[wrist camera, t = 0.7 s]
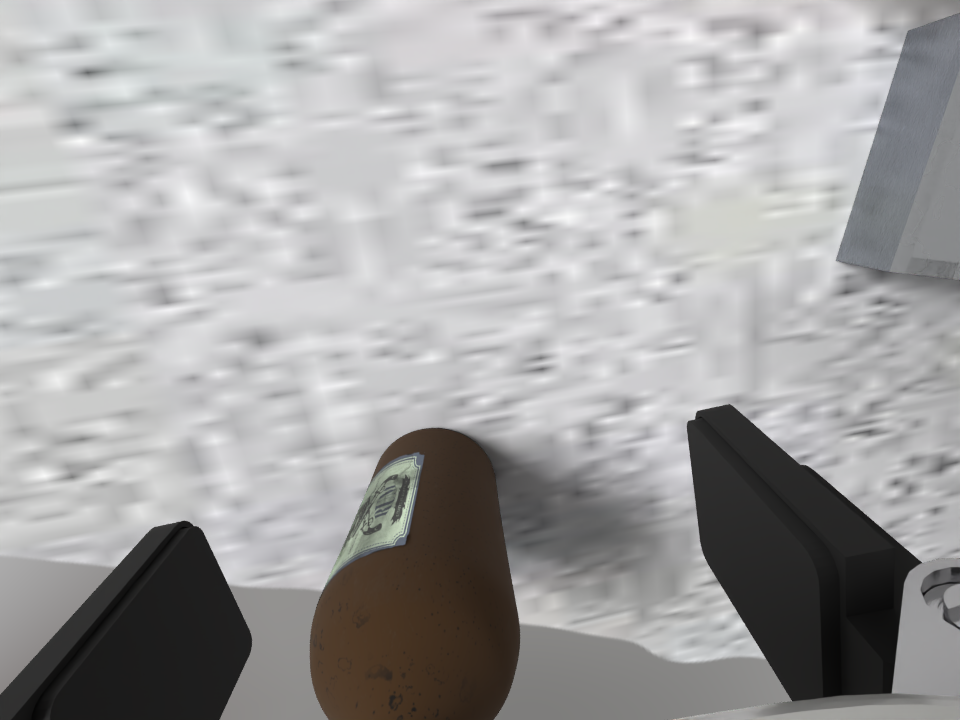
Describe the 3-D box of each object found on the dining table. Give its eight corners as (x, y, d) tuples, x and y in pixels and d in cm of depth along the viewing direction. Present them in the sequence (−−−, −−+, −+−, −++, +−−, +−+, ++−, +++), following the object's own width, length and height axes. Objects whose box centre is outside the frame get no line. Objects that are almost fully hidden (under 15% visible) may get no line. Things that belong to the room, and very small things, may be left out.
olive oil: (531, 477, 42) (608, 856, 18) (441, 561, 44) (407, 994, 21) (428, 391, 40) (365, 700, 16) (339, 485, 42) (168, 876, 18)
